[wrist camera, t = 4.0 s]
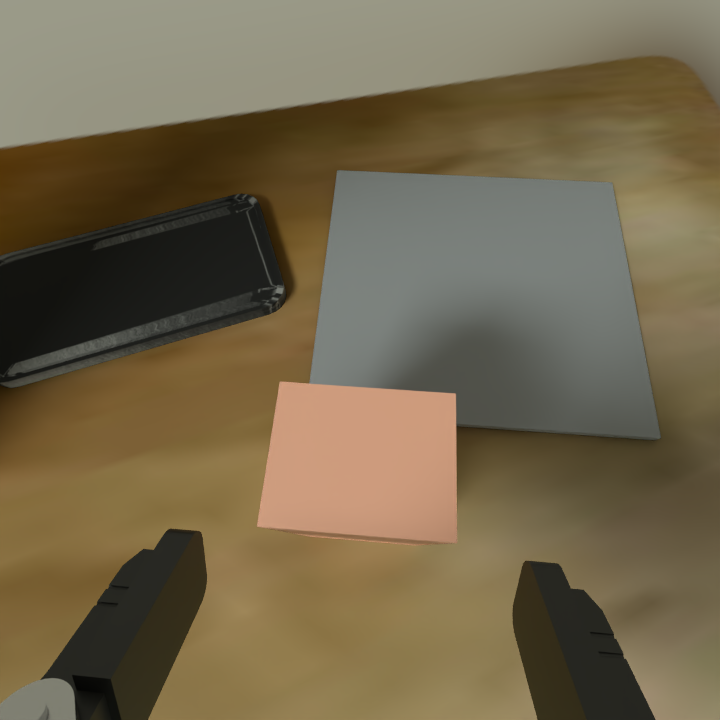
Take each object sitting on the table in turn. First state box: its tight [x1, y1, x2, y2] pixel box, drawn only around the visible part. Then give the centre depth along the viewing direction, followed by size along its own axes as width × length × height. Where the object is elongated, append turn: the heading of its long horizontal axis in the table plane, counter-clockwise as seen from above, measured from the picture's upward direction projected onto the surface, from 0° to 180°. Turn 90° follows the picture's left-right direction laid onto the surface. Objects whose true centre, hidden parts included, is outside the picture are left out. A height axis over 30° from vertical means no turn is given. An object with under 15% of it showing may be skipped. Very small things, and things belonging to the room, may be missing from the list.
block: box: [257, 382, 457, 545], centre depth 15 cm, size 4×4×10 cm
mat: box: [310, 170, 661, 440], centre depth 23 cm, size 16×15×1 cm
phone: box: [0, 194, 286, 388], centre depth 24 cm, size 8×1×15 cm
